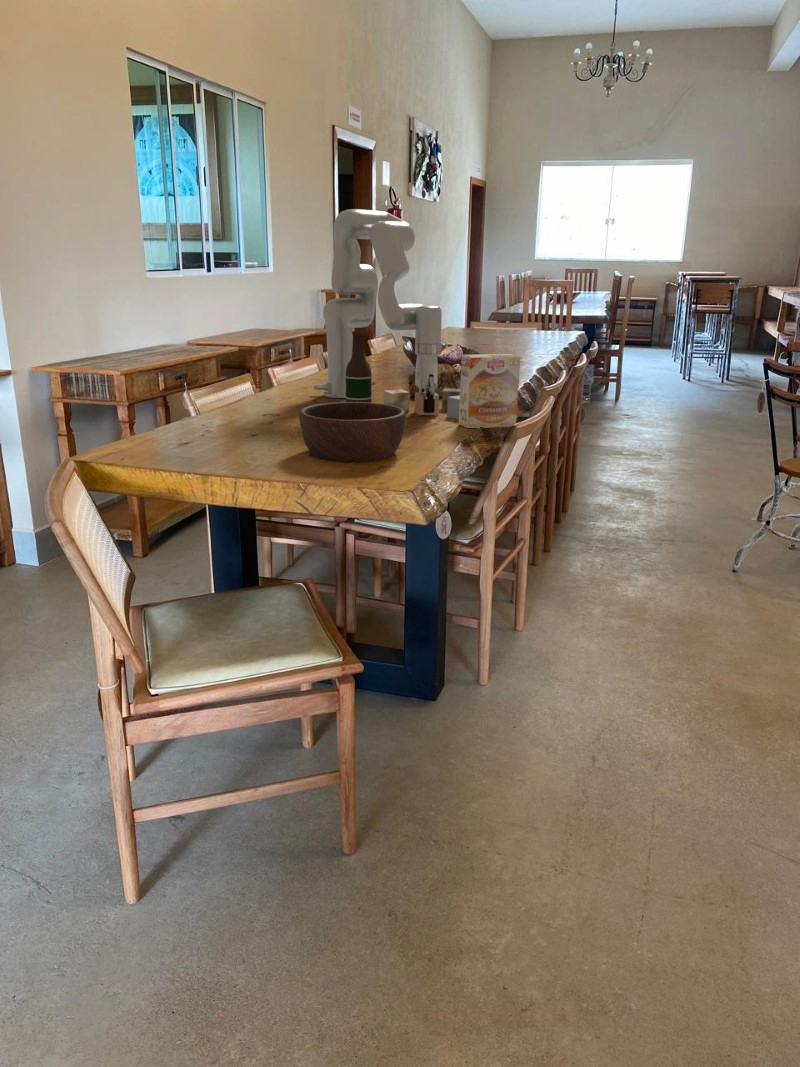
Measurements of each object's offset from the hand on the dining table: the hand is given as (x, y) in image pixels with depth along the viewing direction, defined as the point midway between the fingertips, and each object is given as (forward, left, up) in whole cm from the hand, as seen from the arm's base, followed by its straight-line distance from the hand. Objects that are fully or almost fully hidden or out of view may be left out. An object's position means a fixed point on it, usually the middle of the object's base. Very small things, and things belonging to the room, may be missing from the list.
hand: (426, 409), depth 238 cm
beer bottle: (-20, +4, -1) cm, 20 cm away
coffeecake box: (+13, -20, -1) cm, 24 cm away
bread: (+11, +36, -2) cm, 37 cm away
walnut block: (+10, +7, -1) cm, 12 cm away
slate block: (+9, -7, -1) cm, 11 cm away
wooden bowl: (-29, -48, -1) cm, 56 cm away
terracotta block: (0, 0, -1) cm, 1 cm away
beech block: (-8, +6, -1) cm, 10 cm away
